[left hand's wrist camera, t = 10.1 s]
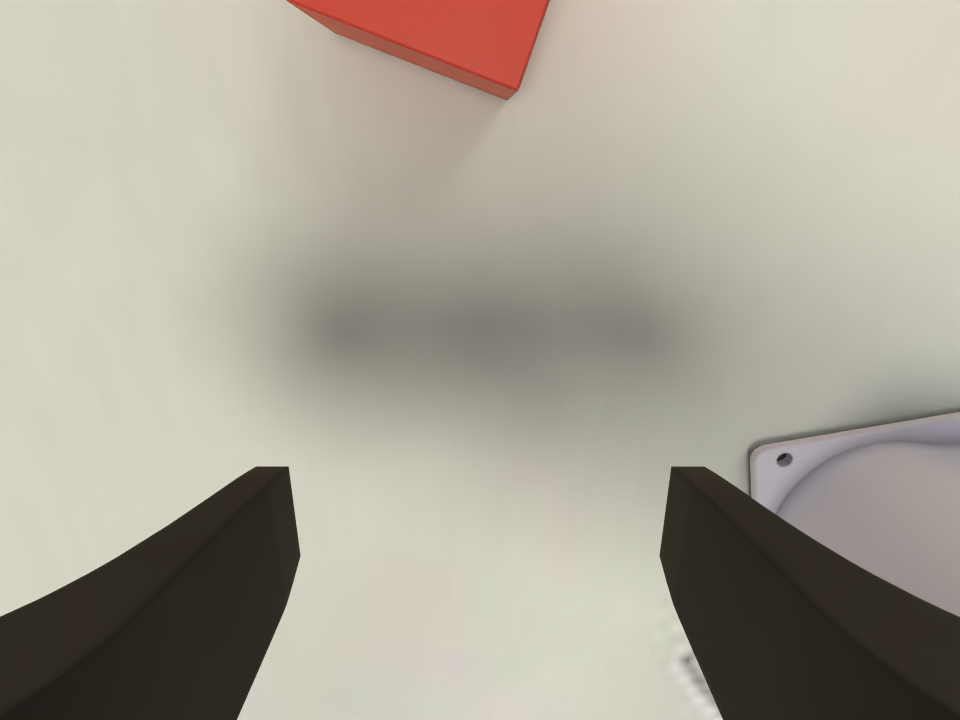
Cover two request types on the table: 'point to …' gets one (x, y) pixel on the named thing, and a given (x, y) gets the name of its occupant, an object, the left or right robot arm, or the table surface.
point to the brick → (443, 34)
